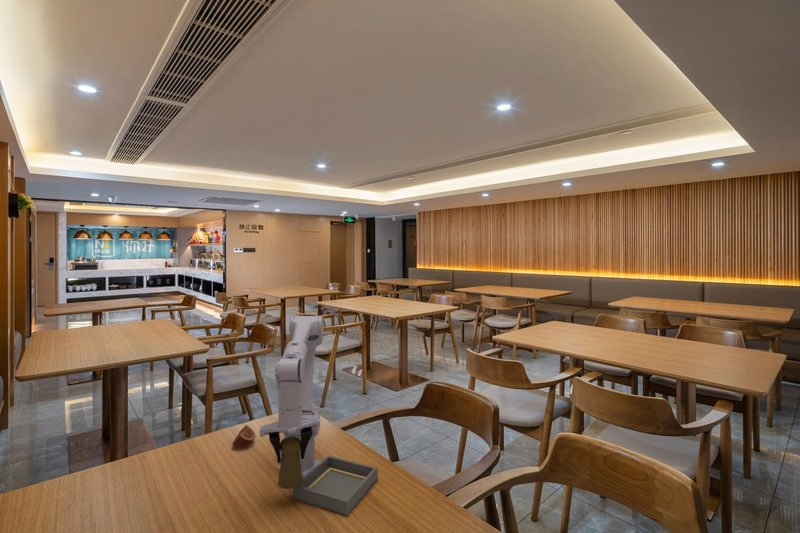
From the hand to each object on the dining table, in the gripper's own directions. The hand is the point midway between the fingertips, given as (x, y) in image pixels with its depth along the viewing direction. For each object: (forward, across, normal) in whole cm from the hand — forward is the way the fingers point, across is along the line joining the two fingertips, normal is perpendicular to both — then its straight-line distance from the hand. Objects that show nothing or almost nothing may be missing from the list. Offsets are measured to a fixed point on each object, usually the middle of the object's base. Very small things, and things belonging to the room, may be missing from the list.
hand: (290, 459), depth 101 cm
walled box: (+10, +12, 0) cm, 16 cm away
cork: (+6, 0, 0) cm, 6 cm away
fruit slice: (+10, -11, +34) cm, 37 cm away
